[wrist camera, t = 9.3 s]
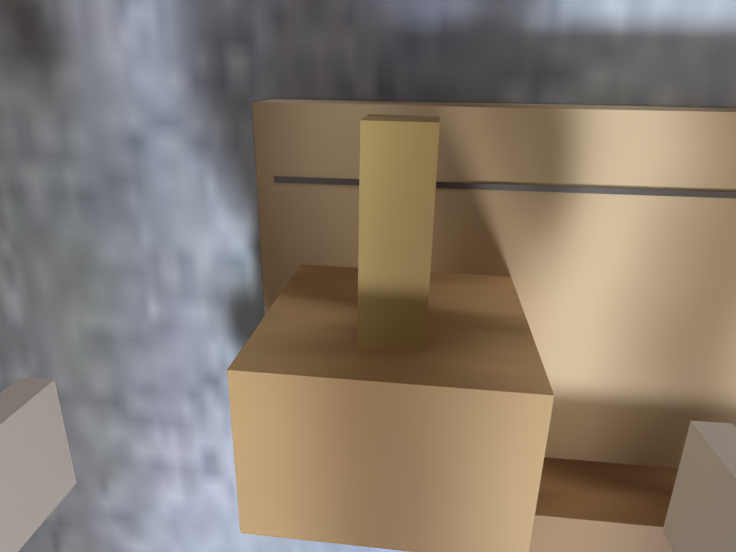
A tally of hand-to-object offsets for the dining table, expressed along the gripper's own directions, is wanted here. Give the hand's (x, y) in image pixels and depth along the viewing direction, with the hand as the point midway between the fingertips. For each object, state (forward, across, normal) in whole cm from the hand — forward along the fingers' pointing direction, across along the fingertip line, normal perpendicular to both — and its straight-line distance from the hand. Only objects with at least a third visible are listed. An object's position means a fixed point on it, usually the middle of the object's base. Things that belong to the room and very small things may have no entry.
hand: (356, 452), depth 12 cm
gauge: (+5, +1, +3) cm, 6 cm away
